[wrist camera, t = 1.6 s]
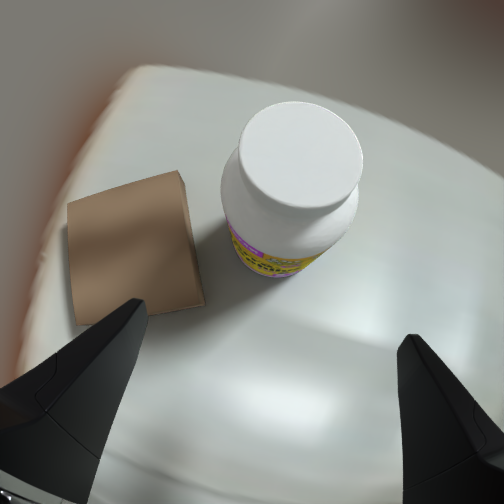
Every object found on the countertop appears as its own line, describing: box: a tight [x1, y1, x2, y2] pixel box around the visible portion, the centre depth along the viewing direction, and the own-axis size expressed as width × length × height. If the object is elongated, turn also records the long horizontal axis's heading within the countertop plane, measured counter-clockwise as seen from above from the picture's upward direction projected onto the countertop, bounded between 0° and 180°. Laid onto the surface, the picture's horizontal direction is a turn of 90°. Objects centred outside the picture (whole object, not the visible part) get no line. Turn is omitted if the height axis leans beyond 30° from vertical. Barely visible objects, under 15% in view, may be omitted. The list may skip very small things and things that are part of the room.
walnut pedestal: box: [67, 170, 206, 326], centre depth 21 cm, size 10×10×2 cm
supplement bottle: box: [221, 102, 363, 277], centre depth 16 cm, size 7×7×13 cm
